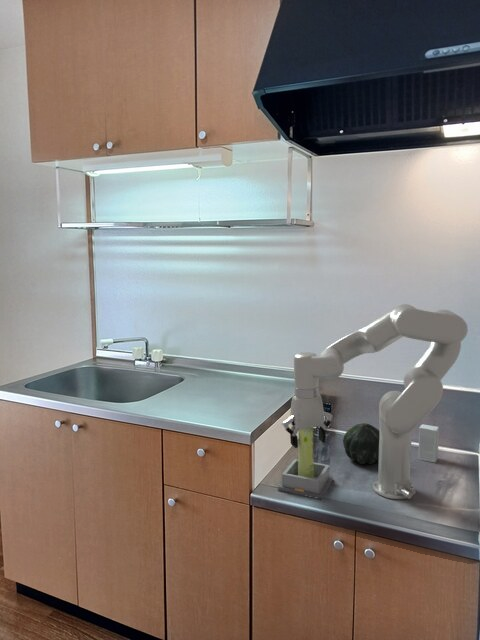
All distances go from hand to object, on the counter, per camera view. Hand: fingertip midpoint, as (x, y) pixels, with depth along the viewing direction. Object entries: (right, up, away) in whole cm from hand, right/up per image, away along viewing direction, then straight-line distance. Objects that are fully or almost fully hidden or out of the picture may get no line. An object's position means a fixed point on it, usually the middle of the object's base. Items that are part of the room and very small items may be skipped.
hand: (308, 443), depth 159 cm
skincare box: (+45, -11, +19) cm, 50 cm away
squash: (+23, -11, +20) cm, 32 cm away
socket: (0, -14, +2) cm, 14 cm away
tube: (-1, -13, +2) cm, 13 cm away
